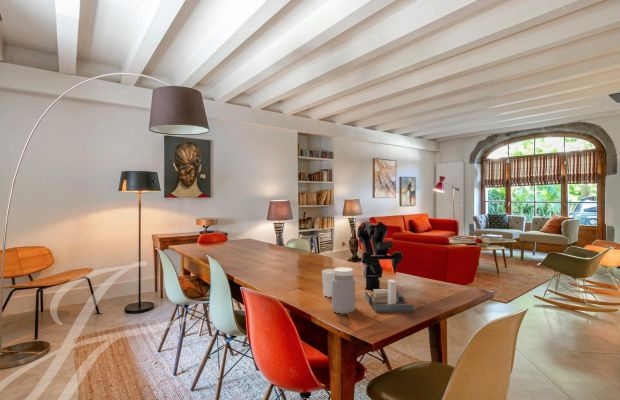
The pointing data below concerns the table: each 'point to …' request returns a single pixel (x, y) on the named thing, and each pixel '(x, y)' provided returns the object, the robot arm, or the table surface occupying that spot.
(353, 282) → the jar
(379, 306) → the rack
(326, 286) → the white cylinder
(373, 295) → the offcut stack
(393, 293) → the cream rectangular block
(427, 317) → the table surface
